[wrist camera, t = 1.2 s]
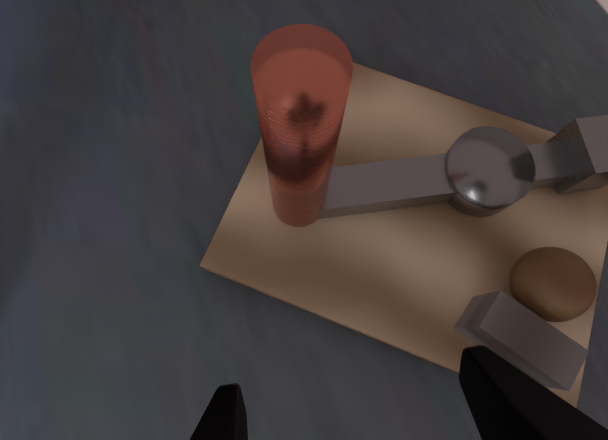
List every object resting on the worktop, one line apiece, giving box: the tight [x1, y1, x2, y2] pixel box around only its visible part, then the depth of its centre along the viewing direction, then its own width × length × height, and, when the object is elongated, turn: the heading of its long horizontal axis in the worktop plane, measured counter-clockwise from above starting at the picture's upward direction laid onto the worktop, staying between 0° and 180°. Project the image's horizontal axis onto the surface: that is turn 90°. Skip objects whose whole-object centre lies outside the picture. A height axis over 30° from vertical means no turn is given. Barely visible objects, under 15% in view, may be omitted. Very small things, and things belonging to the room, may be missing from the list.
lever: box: [251, 24, 608, 227], centre depth 17 cm, size 18×4×11 cm, turn 98°
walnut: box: [509, 247, 597, 322], centre depth 20 cm, size 4×4×4 cm
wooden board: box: [200, 63, 608, 408], centre depth 22 cm, size 15×20×4 cm
